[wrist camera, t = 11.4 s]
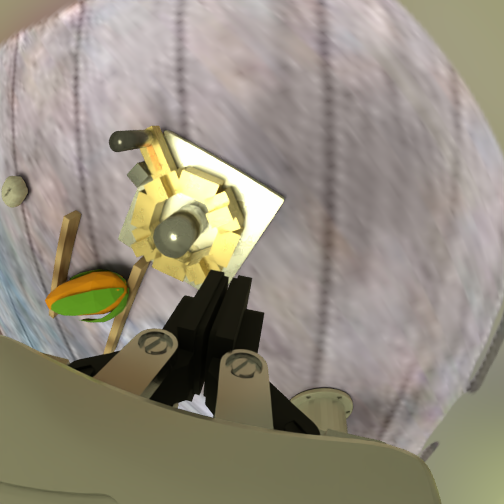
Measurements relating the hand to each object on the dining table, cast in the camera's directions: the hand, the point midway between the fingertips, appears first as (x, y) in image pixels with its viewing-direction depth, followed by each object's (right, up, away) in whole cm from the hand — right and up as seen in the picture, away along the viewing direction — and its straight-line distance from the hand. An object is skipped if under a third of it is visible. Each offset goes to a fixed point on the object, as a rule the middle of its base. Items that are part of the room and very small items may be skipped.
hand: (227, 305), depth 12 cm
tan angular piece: (-7, +8, +21) cm, 24 cm away
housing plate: (-6, +6, +24) cm, 26 cm away
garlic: (-39, +13, +26) cm, 48 cm away
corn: (-25, -4, +30) cm, 40 cm away
